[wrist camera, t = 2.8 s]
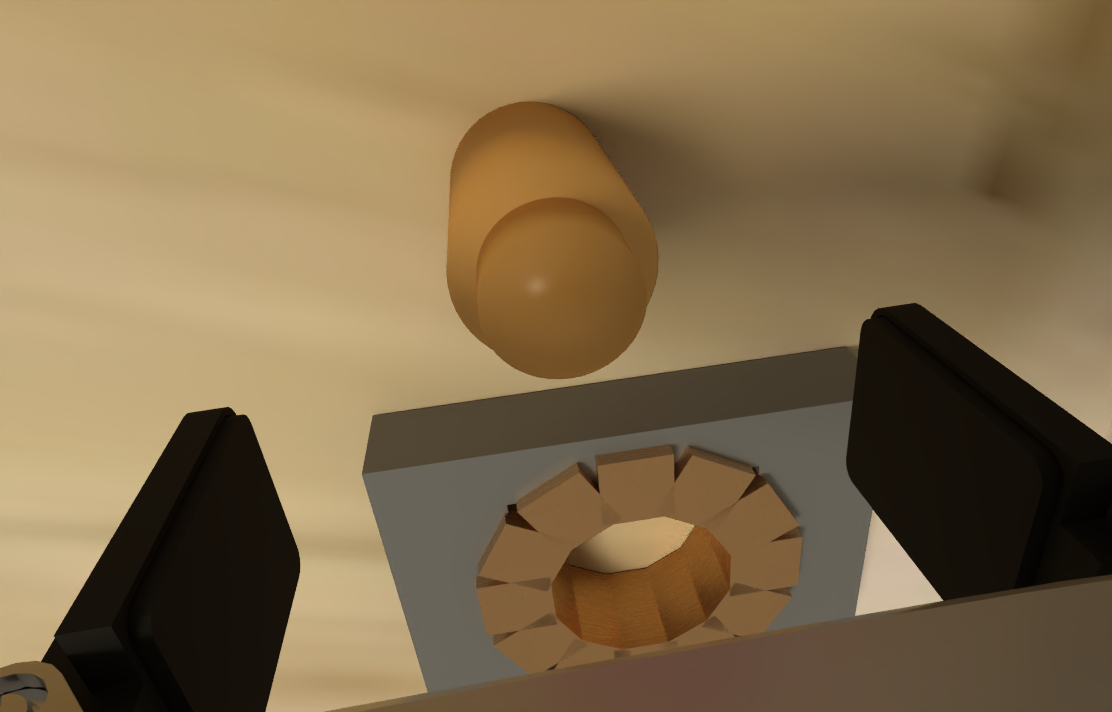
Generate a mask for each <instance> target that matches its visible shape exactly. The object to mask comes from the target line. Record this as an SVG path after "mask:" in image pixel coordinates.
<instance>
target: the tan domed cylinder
mask: <svg viewBox="0 0 1112 712" xmlns="http://www.w3.org/2000/svg"><path fill="white" fill-rule="evenodd" d="M657 273H658V250H657V243H656V239H655V235H654V232H653V229H652V227H651V224H650V222H649V220H648V218H647V216H646V215H645V213H644V211H643V210H642V208H641V207H640V205H639V204H638V202H637V201H636V199H635V198H634V196H633V195H632V193H631V192H630V190H629V189H628V187H627V186H626V184H625V183H624V181H623V180H622V178H621V177H620V175H619V174H618V172H617V171H616V169H615V168H614V166H613V165H612V163H611V162H610V161H609V159H608V158H607V156H606V155H605V153H604V152H603V150H602V149H601V147H600V146H599V144H598V143H597V141H596V140H595V138H594V137H593V135H592V134H591V133H590V131H589V130H588V129H587V128H586V126H584V125H583V124H582V123H581V122H580V121H579V120H578V119H577V118H575V117H574V116H573V115H571V114H570V113H568V112H566V111H564V110H562V109H560V108H558V107H555V106H552V105H549V104H544V103H538V102H519V103H514V104H509V105H506V106H503V107H500V108H498V109H496V110H494V111H492V112H490V113H488V114H486V115H485V116H484V117H482V118H481V119H479V120H478V121H477V122H476V123H475V124H474V125H473V126H472V127H471V128H470V129H469V130H468V132H467V133H466V134H465V135H464V137H463V139H462V140H461V142H460V143H459V146H458V148H457V150H456V152H455V155H454V158H453V162H452V167H451V175H450V199H449V222H448V246H447V283H448V289H449V293H450V297H451V300H452V302H453V305H454V307H455V309H456V312H457V313H458V315H459V317H460V318H461V320H462V322H463V323H464V324H465V326H466V327H467V328H468V329H469V331H470V332H471V333H472V334H473V335H474V336H475V337H476V338H478V339H479V340H480V341H481V342H482V343H484V344H485V345H486V346H488V347H489V348H491V349H493V350H494V352H495V353H496V354H497V355H498V356H499V357H500V358H501V359H502V360H503V361H505V362H506V363H508V364H509V365H510V366H512V367H514V368H515V369H517V370H519V371H521V372H524V373H526V374H529V375H532V376H536V377H540V378H547V379H568V378H575V377H579V376H583V375H586V374H589V373H592V372H594V371H597V370H599V369H601V368H603V367H604V366H606V365H608V364H610V363H611V362H612V361H614V360H615V359H616V358H618V357H619V356H620V355H621V354H622V353H623V352H624V351H625V350H626V349H627V348H628V347H629V345H630V344H631V343H632V342H633V340H634V338H635V337H636V335H637V334H638V332H639V330H640V327H641V325H642V323H643V320H644V317H645V312H646V307H647V305H648V303H649V300H650V298H651V296H652V293H653V290H654V287H655V284H656V279H657Z"/></svg>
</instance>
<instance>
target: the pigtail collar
mask: <svg viewBox="0 0 1112 712" xmlns="http://www.w3.org/2000/svg"><path fill="white" fill-rule="evenodd" d="M595 465H596V476H597V483H596V482H595V481H594V480H593V479H592V478H591V477H590V476H589V474H588V473H587V472H586V471H585V470H584V469H583V468H582V467H581V466H580V465H579V464H578V463H577V462H576V463H575V464H573V465H572V466H570V467H568V468H567V469H565V470H564V471H562V472H561V473H559V474H558V475H556V476H554V477H553V478H551V479H550V480H548V481H547V482H545V483H543V484H542V485H540V486H539V487H537V488H536V489H534V490H533V491H531V492H529V493H528V494H526V495H525V496H523V497H522V498H520V499H518V500H517V501H516V504H510V505H508V513H505V514H504V516H503V517H502V519H501V521H500V523H499V525H498V527H497V529H496V531H495V533H494V535H493V536H492V538H491V540H490V542H489V544H488V546H487V548H486V550H485V552H484V554H483V555H482V557H481V559H480V561H479V563H478V577H476V589H477V594H478V598H479V603H480V607H481V612H482V616H483V621H484V625H485V630H486V634H487V636H489V635H493V645H494V647H496V648H497V649H498V650H500V651H501V652H502V653H503V654H505V655H506V656H507V657H508V658H510V659H511V660H512V661H514V662H515V663H516V664H517V665H519V666H520V667H521V668H523V669H524V670H525V671H526V672H528V673H529V674H532V673H537V672H542V671H548V670H553V669H559V668H565V667H570V666H576V665H581V664H587V663H593V662H598V661H604V660H609V659H615V658H620V657H626V656H632V655H637V654H643V653H648V652H654V651H659V650H665V649H671V648H676V647H682V646H688V645H693V644H699V643H704V642H710V641H716V640H721V639H727V638H733V637H738V636H744V635H750V634H755V633H761V632H765V630H766V629H767V628H768V627H769V625H770V624H771V623H772V622H773V620H774V619H775V618H776V617H777V615H778V614H779V613H780V612H781V611H782V609H783V608H784V607H785V606H786V604H787V603H788V602H789V601H790V599H791V598H792V595H791V593H790V591H789V590H788V588H787V587H791V586H797V585H798V577H799V567H800V557H801V547H802V535H801V533H800V531H799V530H798V528H797V526H799V523H798V522H797V520H796V518H795V517H794V515H793V513H792V512H791V511H790V509H789V508H788V507H787V505H786V504H785V503H784V501H783V500H782V499H781V497H780V496H779V495H778V493H777V492H776V491H775V489H774V488H773V487H772V485H771V484H770V483H769V481H768V480H767V479H766V478H765V476H764V475H763V474H760V475H759V474H758V472H757V471H756V469H755V467H751V466H750V465H748V464H745V463H742V462H739V461H736V460H733V459H729V458H726V457H723V456H720V455H717V454H714V453H710V452H707V451H704V450H701V449H698V448H695V447H691V446H687V447H686V449H685V450H684V452H683V453H682V455H681V457H680V458H679V460H678V461H677V463H676V464H675V466H674V453H673V451H672V449H671V446H670V444H667V445H661V446H654V447H648V448H641V449H634V450H628V451H621V452H614V453H608V454H601V455H595ZM663 516H665V517H668V518H672V519H676V520H679V521H683V522H686V523H690V524H694V525H696V526H695V528H694V529H693V530H692V532H691V533H690V535H689V536H688V538H687V539H686V541H685V542H684V544H683V545H682V547H681V548H680V549H678V550H676V551H675V552H673V553H671V554H670V555H668V556H666V557H664V558H663V559H661V560H659V561H658V562H656V563H654V564H653V565H651V566H649V567H647V568H645V569H638V570H632V571H626V572H619V573H613V574H607V575H606V574H602V573H598V572H594V571H590V570H585V569H581V568H577V567H573V566H570V565H569V564H567V563H566V562H565V560H566V559H567V557H568V555H569V554H570V552H571V550H572V549H574V548H575V547H577V546H579V545H580V544H582V543H584V542H585V541H587V540H589V539H590V538H592V537H594V536H595V535H597V534H598V533H600V532H602V531H603V530H605V529H607V528H608V527H610V526H612V525H613V524H618V523H625V522H631V521H638V520H644V519H650V518H657V517H663Z"/></svg>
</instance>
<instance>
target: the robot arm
mask: <svg viewBox="0 0 1112 712" xmlns="http://www.w3.org/2000/svg"><path fill="white" fill-rule="evenodd" d="M846 467H847V472H848V475H849V477H850V480H851V481H852V483H853V484H854V486H855V487H856V488H857V489H858V491H859V492H860V493H861V495H862V496H863V497H864V498H865V500H866V501H867V502H868V504H869V505H870V506H871V508H872V509H873V510H874V511H875V513H876V514H877V515H878V517H879V518H880V519H881V520H882V522H883V523H884V524H885V526H886V527H887V528H888V529H889V531H890V532H891V533H892V535H893V536H894V537H895V539H896V540H897V541H898V542H899V544H900V545H901V546H902V548H903V549H904V550H905V551H906V553H907V554H908V555H909V557H910V558H911V559H912V561H913V562H914V563H915V564H916V566H917V567H918V568H919V570H920V571H921V572H922V573H923V575H924V576H925V577H926V579H927V580H928V581H929V582H930V584H931V585H932V586H933V588H934V589H935V590H936V592H937V593H938V594H939V595H940V597H941V598H942V599H943V601H940V602H934V603H929V604H923V605H917V606H911V607H905V608H900V609H894V610H888V611H882V612H876V613H871V614H865V615H859V616H853V617H847V618H842V619H836V620H830V621H824V622H818V623H812V624H807V625H801V626H795V627H789V628H783V629H778V630H772V631H767V632H761V633H755V634H750V635H744V636H738V637H733V638H727V639H721V640H716V641H710V642H704V643H699V644H693V645H688V646H682V647H676V648H671V649H665V650H659V651H654V652H648V653H643V654H637V655H632V656H626V657H620V658H615V659H609V660H604V661H598V662H593V663H587V664H581V665H576V666H570V667H565V668H559V669H553V670H548V671H542V672H537V673H532V674H526V675H521V676H515V677H510V678H504V679H499V680H494V681H488V682H483V683H477V684H472V685H466V686H461V687H456V688H450V689H445V690H439V691H434V692H428V693H423V694H418V695H412V696H407V697H401V698H396V699H390V700H385V701H379V702H374V703H369V704H363V705H358V706H352V707H347V708H342V709H336V710H331V711H326V712H1112V444H1111V443H1110V442H1108V441H1107V440H1106V439H1104V438H1103V437H1101V436H1100V435H1099V434H1097V433H1096V432H1095V431H1093V430H1092V429H1090V428H1089V427H1088V426H1086V425H1085V424H1083V423H1082V422H1081V421H1079V420H1078V419H1077V418H1075V417H1074V416H1072V415H1071V414H1070V413H1068V412H1067V411H1066V410H1064V409H1063V408H1061V407H1060V406H1059V405H1057V404H1056V403H1055V402H1053V401H1052V400H1050V399H1049V398H1048V397H1046V396H1045V395H1044V394H1042V393H1041V392H1039V391H1038V390H1037V389H1035V388H1034V387H1033V386H1031V385H1030V384H1028V383H1027V382H1026V381H1024V380H1023V379H1021V378H1020V377H1019V376H1017V375H1016V374H1015V373H1013V372H1012V371H1010V370H1009V369H1008V368H1006V367H1005V366H1004V365H1002V364H1001V363H999V362H998V361H997V360H995V359H994V358H993V357H991V356H990V355H988V354H987V353H986V352H984V351H983V350H982V349H980V348H979V347H977V346H976V345H975V344H973V343H972V342H970V341H969V340H968V339H966V338H965V337H964V336H962V335H961V334H959V333H958V332H957V331H955V330H954V329H953V328H951V327H950V326H948V325H947V324H946V323H944V322H943V321H942V320H940V319H939V318H937V317H936V316H935V315H933V314H932V313H931V312H929V311H928V310H926V309H925V308H924V307H922V306H921V305H919V304H917V303H911V304H904V305H898V306H891V307H885V308H878V309H877V310H875V311H874V313H873V314H872V316H871V319H867V320H865V321H864V323H863V324H862V328H861V333H860V342H859V351H858V359H857V368H856V377H855V385H854V394H853V402H852V411H851V420H850V428H849V437H848V445H847V454H846ZM299 574H300V557H299V552H298V548H297V545H296V543H295V540H294V537H293V535H292V532H291V529H290V527H289V524H288V521H287V519H286V516H285V513H284V510H283V508H282V505H281V502H280V500H279V497H278V494H277V492H276V489H275V486H274V483H273V481H272V478H271V475H270V473H269V470H268V467H267V465H266V462H265V459H264V457H263V454H262V451H261V448H260V446H259V443H258V440H257V438H256V435H255V432H254V430H253V427H252V424H251V422H250V420H249V418H248V417H247V416H246V415H244V414H243V415H236V413H235V412H234V411H233V410H232V409H231V408H229V407H225V408H218V409H211V410H205V411H198V412H192V413H187V414H186V415H185V416H184V417H183V419H182V421H181V423H180V424H179V426H178V428H177V429H176V431H175V433H174V434H173V436H172V438H171V439H170V441H169V443H168V444H167V446H166V448H165V449H164V451H163V453H162V455H161V456H160V458H159V460H158V461H157V463H156V465H155V466H154V468H153V470H152V471H151V473H150V475H149V476H148V478H147V480H146V481H145V483H144V485H143V487H142V488H141V490H140V492H139V493H138V495H137V497H136V498H135V500H134V502H133V503H132V505H131V507H130V508H129V510H128V512H127V513H126V515H125V517H124V519H123V520H122V522H121V524H120V525H119V527H118V529H117V530H116V532H115V534H114V535H113V537H112V539H111V540H110V542H109V544H108V546H107V547H106V549H105V551H104V552H103V554H102V556H101V557H100V559H99V561H98V562H97V564H96V566H95V567H94V569H93V571H92V572H91V574H90V576H89V578H88V579H87V581H86V583H85V584H84V586H83V588H82V589H81V591H80V593H79V594H78V596H77V598H76V599H75V601H74V603H73V604H72V606H71V608H70V610H69V611H68V613H67V615H66V616H65V618H64V620H63V621H62V623H61V625H60V626H59V628H58V630H57V631H56V633H55V635H54V637H55V639H54V641H53V642H52V644H51V646H50V647H49V649H48V651H47V652H46V654H45V656H44V658H43V659H42V661H41V662H39V661H30V662H21V663H14V664H11V665H8V666H5V667H2V668H0V712H265V711H266V707H267V703H268V699H269V695H270V691H271V687H272V683H273V679H274V675H275V671H276V667H277V663H278V659H279V655H280V651H281V647H282V643H283V639H284V635H285V631H286V627H287V623H288V619H289V615H290V611H291V607H292V603H293V599H294V595H295V591H296V587H297V583H298V579H299Z"/></svg>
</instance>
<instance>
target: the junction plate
mask: <svg viewBox="0 0 1112 712" xmlns="http://www.w3.org/2000/svg"><path fill="white" fill-rule="evenodd" d="M856 368H857V358H856V357H855V356H854V355H853V354H852V353H851V352H850V351H849V350H848V349H847V348H846V347H841V348H834V349H827V350H820V351H814V352H807V353H800V354H793V355H786V356H779V357H772V358H766V359H759V360H752V361H745V362H738V363H731V364H725V365H718V366H711V367H704V368H697V369H690V370H684V371H677V372H670V373H663V374H656V375H649V376H643V377H636V378H629V379H622V380H615V381H608V382H602V383H595V384H588V385H581V386H574V387H567V388H560V389H554V390H547V391H540V392H533V393H526V394H519V395H513V396H506V397H499V398H492V399H485V400H478V401H472V402H465V403H458V404H451V405H444V406H437V407H431V408H424V409H417V410H410V411H403V412H396V413H390V414H383V415H376V416H373V417H372V422H371V428H370V433H369V438H368V444H367V449H366V455H365V460H364V466H363V471H362V476H363V480H364V483H365V486H366V489H367V493H368V496H369V499H370V503H371V506H372V509H373V513H374V516H375V519H376V522H377V526H378V529H379V532H380V536H381V539H382V542H383V546H384V549H385V552H386V555H387V559H388V562H389V565H390V569H391V572H392V575H393V579H394V582H395V585H396V588H397V592H398V595H399V598H400V602H401V605H402V608H403V612H404V615H405V618H406V621H407V625H408V628H409V631H410V635H411V638H412V641H413V645H414V648H415V651H416V654H417V658H418V661H419V664H420V668H421V671H422V674H423V678H424V681H425V684H426V687H427V691H428V692H434V691H439V690H445V689H450V688H456V687H461V686H466V685H472V684H477V683H483V682H488V681H494V680H499V679H504V678H510V677H515V676H521V675H526V674H529V673H528V672H526V671H525V670H524V669H523V668H521V667H520V666H519V665H517V664H516V663H515V662H514V661H512V660H511V659H510V658H508V657H507V656H506V655H505V654H503V653H502V652H501V651H500V650H498V649H497V648H496V647H494V645H493V635H489V636H487V634H486V630H485V625H484V621H483V616H482V612H481V607H480V603H479V598H478V594H477V589H476V577H478V563H479V561H480V559H481V557H482V555H483V554H484V552H485V550H486V548H487V546H488V544H489V542H490V540H491V538H492V536H493V535H494V533H495V531H496V529H497V527H498V525H499V523H500V521H501V519H502V517H503V516H504V514H505V513H508V505H510V504H516V501H517V500H518V499H520V498H522V497H523V496H525V495H526V494H528V493H529V492H531V491H533V490H534V489H536V488H537V487H539V486H540V485H542V484H543V483H545V482H547V481H548V480H550V479H551V478H553V477H554V476H556V475H558V474H559V473H561V472H562V471H564V470H565V469H567V468H568V467H570V466H572V465H573V464H575V463H576V462H577V463H578V464H579V465H580V466H581V467H582V468H583V469H584V470H585V471H586V472H587V473H588V474H589V476H590V477H591V478H592V479H593V480H594V481H595V482H596V483H597V476H596V465H595V455H601V454H608V453H614V452H621V451H628V450H634V449H641V448H648V447H654V446H661V445H667V444H670V446H671V449H672V451H673V453H674V466H675V464H676V463H677V461H678V460H679V458H680V457H681V455H682V453H683V452H684V450H685V449H686V447H687V446H691V447H695V448H698V449H701V450H704V451H707V452H710V453H714V454H717V455H720V456H723V457H726V458H729V459H733V460H736V461H739V462H742V463H745V464H748V465H750V466H751V467H755V469H756V471H757V472H758V474H759V475H760V474H763V475H764V476H765V478H766V479H767V480H768V481H769V483H770V484H771V485H772V487H773V488H774V489H775V491H776V492H777V493H778V495H779V496H780V497H781V499H782V500H783V501H784V503H785V504H786V505H787V507H788V508H789V509H790V511H791V512H792V513H793V515H794V517H795V518H796V520H797V522H798V523H799V526H797V528H798V530H799V531H800V533H801V535H802V547H801V557H800V567H799V577H798V585H797V586H791V587H787V588H788V590H789V591H790V593H791V595H792V598H791V599H790V601H789V602H788V603H787V604H786V606H785V607H784V608H783V609H782V611H781V612H780V613H779V614H778V615H777V617H776V618H775V619H774V620H773V622H772V623H771V624H770V625H769V627H768V628H767V629H766V630H765V632H767V631H772V630H778V629H783V628H789V627H795V626H801V625H807V624H812V623H818V622H824V621H830V620H836V619H842V618H847V617H853V616H855V612H856V606H857V600H858V594H859V587H860V581H861V575H862V569H863V563H864V557H865V551H866V545H867V539H868V533H869V527H870V521H871V515H872V508H871V506H870V505H869V504H868V502H867V501H866V500H865V498H864V497H863V496H862V495H861V493H860V492H859V491H858V489H857V488H856V487H855V486H854V484H853V483H852V481H851V480H850V477H849V475H848V472H847V467H846V454H847V445H848V437H849V428H850V420H851V411H852V402H853V394H854V385H855V377H856Z"/></svg>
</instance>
